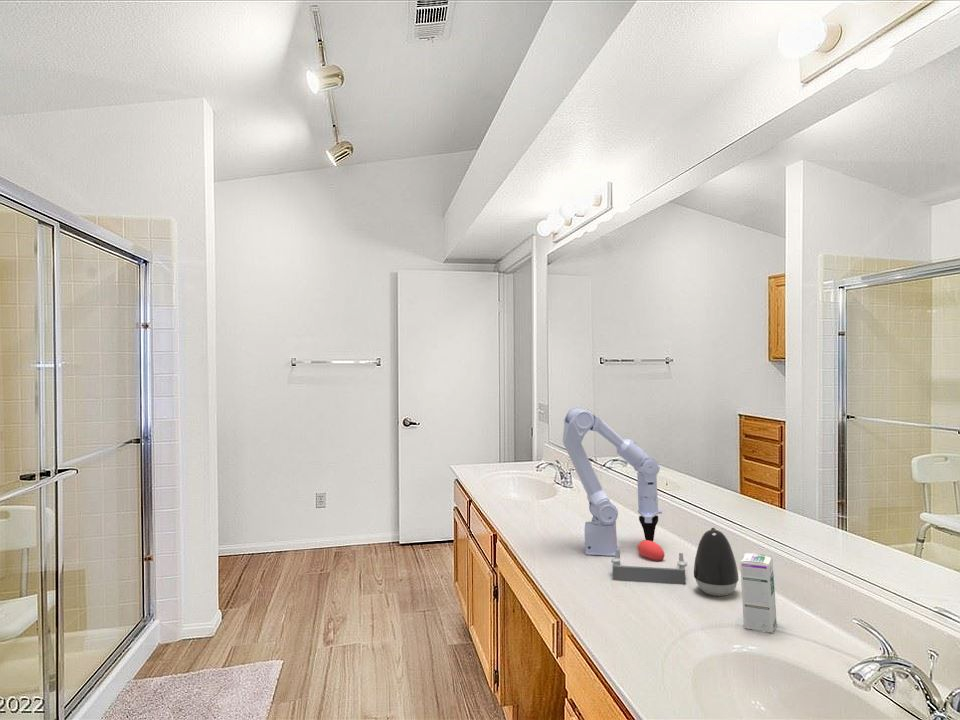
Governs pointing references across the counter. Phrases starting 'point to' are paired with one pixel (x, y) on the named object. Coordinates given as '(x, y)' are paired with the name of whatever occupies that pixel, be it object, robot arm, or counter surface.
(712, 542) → the black egg-shaped device
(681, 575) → the gray u-shaped bracket
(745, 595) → the syrup box
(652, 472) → the robot arm
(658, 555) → the red kidney bean shape
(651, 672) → the counter surface
